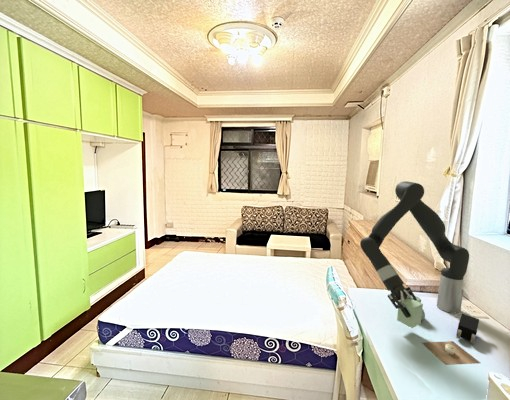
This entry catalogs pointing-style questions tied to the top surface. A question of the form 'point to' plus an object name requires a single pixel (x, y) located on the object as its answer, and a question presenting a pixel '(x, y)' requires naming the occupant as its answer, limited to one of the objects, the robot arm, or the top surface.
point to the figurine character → (467, 328)
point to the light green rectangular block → (415, 312)
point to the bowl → (449, 349)
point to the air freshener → (422, 309)
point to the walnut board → (447, 359)
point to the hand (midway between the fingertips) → (413, 314)
